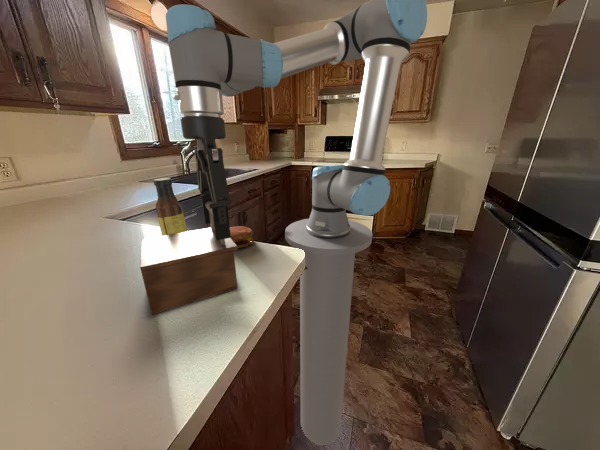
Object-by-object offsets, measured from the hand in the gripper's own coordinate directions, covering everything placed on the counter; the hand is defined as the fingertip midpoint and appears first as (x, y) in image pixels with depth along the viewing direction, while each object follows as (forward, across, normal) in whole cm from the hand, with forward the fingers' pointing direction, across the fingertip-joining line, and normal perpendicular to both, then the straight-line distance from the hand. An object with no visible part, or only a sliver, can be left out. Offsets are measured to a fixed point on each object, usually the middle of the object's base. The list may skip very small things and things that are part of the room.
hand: (216, 229), depth 52 cm
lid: (+2, 0, -6) cm, 6 cm away
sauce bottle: (+11, -21, -7) cm, 25 cm away
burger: (+11, -16, +9) cm, 21 cm away
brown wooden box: (+11, 0, -6) cm, 13 cm away
